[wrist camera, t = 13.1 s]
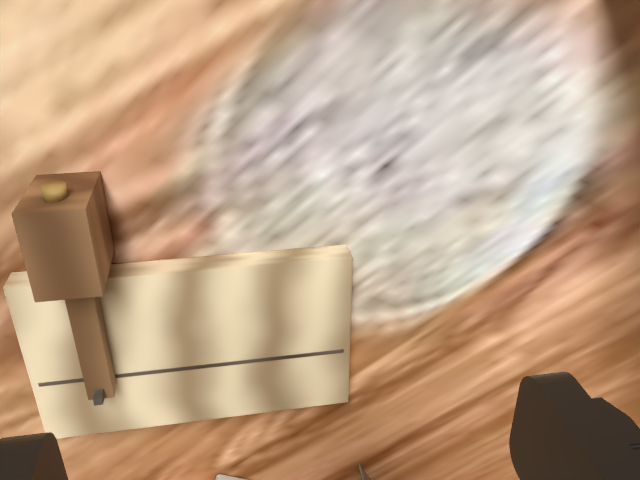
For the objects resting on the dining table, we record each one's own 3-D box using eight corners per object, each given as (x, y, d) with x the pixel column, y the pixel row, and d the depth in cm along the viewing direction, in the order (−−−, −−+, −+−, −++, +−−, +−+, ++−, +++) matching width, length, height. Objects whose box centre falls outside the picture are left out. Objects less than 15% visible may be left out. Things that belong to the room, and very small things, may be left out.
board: (346, 244, 46) (352, 257, 44) (343, 386, 52) (348, 402, 50) (11, 272, 42) (2, 288, 40) (52, 421, 48) (47, 440, 47)
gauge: (98, 159, 39) (82, 196, 34) (134, 361, 47) (126, 415, 42) (33, 163, 39) (8, 201, 34) (81, 367, 47) (66, 423, 41)
